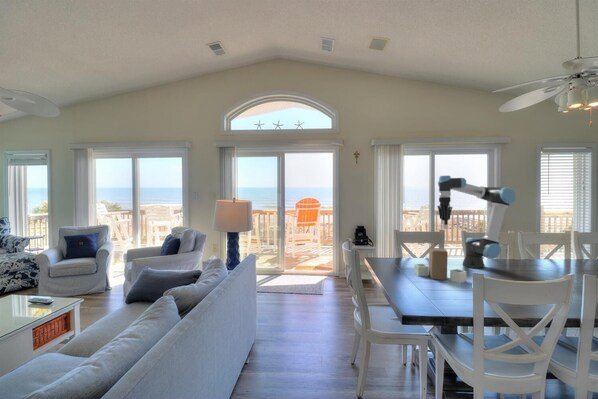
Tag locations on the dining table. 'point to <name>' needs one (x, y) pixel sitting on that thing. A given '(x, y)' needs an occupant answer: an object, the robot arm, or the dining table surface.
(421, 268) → the sage labelled cube
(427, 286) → the dining table surface
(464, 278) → the cream labelled cube
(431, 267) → the wooden block
